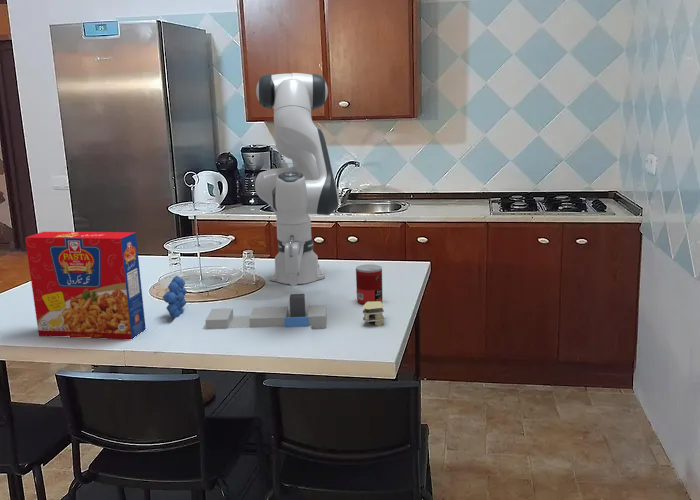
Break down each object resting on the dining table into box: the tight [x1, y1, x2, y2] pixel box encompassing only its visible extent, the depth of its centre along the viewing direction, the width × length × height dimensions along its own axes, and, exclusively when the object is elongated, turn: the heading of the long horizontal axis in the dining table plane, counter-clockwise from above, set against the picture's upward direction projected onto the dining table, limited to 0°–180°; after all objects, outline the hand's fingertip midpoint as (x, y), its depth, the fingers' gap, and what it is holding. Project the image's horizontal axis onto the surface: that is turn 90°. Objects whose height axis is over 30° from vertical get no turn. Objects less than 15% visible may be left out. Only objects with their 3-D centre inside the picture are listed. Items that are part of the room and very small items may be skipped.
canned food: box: [355, 263, 383, 306], centre depth 212 cm, size 8×8×11 cm
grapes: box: [162, 275, 188, 320], centre depth 204 cm, size 12×7×12 cm, turn 174°
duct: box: [202, 304, 328, 330], centre depth 195 cm, size 11×34×4 cm, turn 91°
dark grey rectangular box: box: [289, 293, 307, 317], centre depth 195 cm, size 4×4×7 cm
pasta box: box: [24, 231, 147, 340], centre depth 190 cm, size 28×8×28 cm, turn 79°
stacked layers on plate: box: [362, 301, 385, 326], centre depth 194 cm, size 10×9×6 cm
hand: (295, 280), depth 193 cm, fingers open, 8 cm apart
